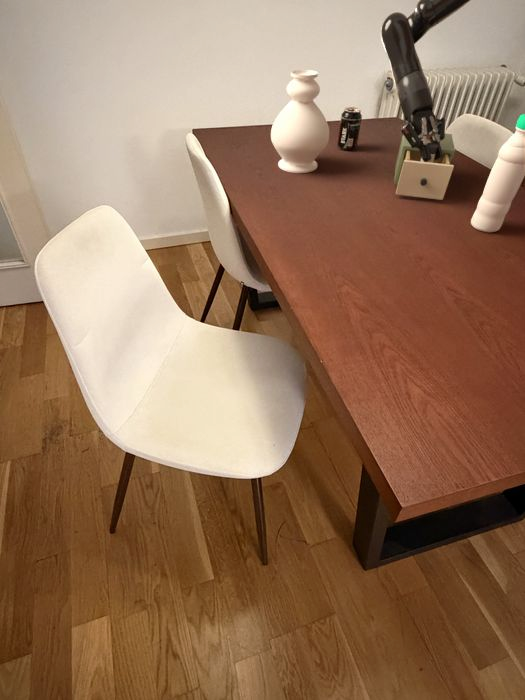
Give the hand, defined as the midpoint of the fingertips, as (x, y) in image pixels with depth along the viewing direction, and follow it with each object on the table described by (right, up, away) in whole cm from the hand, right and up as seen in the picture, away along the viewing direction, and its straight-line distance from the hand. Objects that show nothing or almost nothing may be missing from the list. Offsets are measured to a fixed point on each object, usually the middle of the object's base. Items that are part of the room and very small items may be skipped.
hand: (433, 159), depth 107 cm
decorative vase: (-35, +8, +22) cm, 41 cm away
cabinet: (+2, +2, +16) cm, 16 cm away
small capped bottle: (-1, -2, +4) cm, 4 cm away
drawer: (-1, -5, +8) cm, 9 cm away
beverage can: (-16, +20, +34) cm, 42 cm away
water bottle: (+10, -20, -6) cm, 23 cm away
